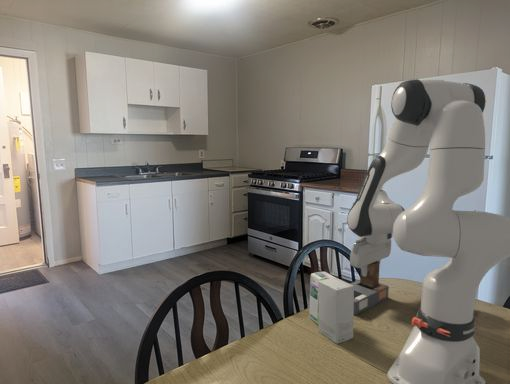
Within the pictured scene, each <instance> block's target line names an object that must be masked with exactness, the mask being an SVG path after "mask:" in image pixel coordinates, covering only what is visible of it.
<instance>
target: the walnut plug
mask: <svg viewBox="0 0 510 384" xmlns="http://www.w3.org/2000/svg"><path fill="white" fill-rule="evenodd" d="M380 264H381V261H380V262H378V261H376V262H374V263H371V264H369V265H368V267H367V271H369V273H368V274H369V275H368V276H366V277H365V276H362V270H361V269H360V276H359V277H360V278H359V280H360V283H361V284H364V285H367V286H370V287H373V286H375V285H377V284H379V283H380V266H381V265H380Z"/></svg>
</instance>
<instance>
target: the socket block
mask: <svg viewBox="0 0 510 384" xmlns="http://www.w3.org/2000/svg"><path fill="white" fill-rule="evenodd" d="M349 284H351V285H353V286H354V316H355V317H356V316H357V315H360V314H361V313H363V312H365V311H367V310H369V309H371V308H372V307H375V306H377V305H379V304H380V303H382V302H384V301H385V300H388V299H389V291H390V290H389V287H390V286H389V285H386V284H383V283H381V282H379V284H377V285H375V286H373V287H370V286H367V285H364V284H361V283H360V279H357V280H355V281H353V282H351V283H349Z"/></svg>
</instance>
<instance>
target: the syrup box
mask: <svg viewBox="0 0 510 384" xmlns="http://www.w3.org/2000/svg"><path fill="white" fill-rule="evenodd" d="M333 277H334V276H333V275H332V274H330V273H328V272H326V271H318V272H313V273H311V274H310V291H309V313H308V314H309V315H308V317H309V318H308V319H311V320H312V321H313V322H314V323H316V324H317V325H318V326H319V315H318V281H321V280H326V279H329V278H333Z"/></svg>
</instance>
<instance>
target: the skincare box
mask: <svg viewBox="0 0 510 384" xmlns="http://www.w3.org/2000/svg"><path fill="white" fill-rule="evenodd" d="M318 315H319V325H318V332H319V333H320V334H322V335H323V336H325V337H326V338H328V340H330V341H331V342H333V343H334V344H336V345H337V344H341V343H344V342H348V341H349V340H352V339H353V338H354V319H355V318H354V286H353V285H351V284H350V283H348V282H346V281H344V280H342V279H339V278H338V277H336V276H333V278H329V279H326V280H321V281H318Z"/></svg>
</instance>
